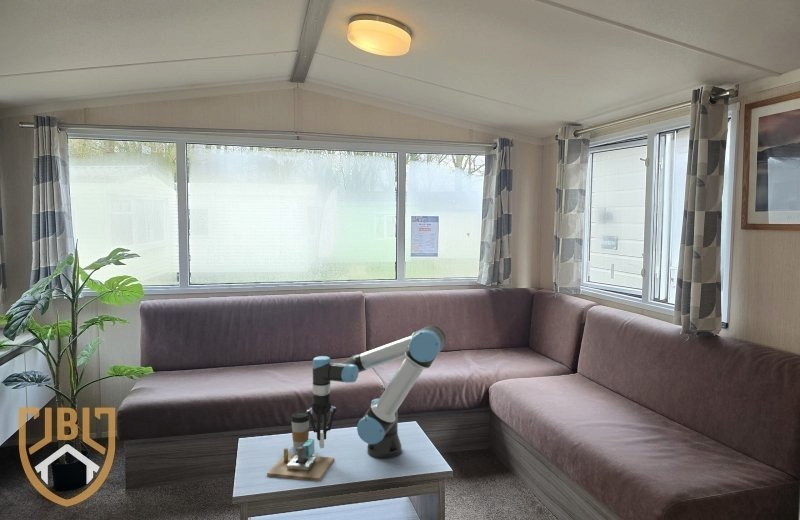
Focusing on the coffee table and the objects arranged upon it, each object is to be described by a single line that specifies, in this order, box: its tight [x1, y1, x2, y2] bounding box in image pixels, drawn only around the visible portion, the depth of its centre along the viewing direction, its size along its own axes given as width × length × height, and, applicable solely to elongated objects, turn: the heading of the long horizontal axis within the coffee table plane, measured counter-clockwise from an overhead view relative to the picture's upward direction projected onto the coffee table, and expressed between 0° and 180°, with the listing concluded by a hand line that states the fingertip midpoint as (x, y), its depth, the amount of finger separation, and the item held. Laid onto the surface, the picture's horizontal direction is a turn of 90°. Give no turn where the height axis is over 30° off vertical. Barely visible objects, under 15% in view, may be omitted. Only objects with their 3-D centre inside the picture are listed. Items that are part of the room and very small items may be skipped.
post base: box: [266, 446, 335, 482], centre depth 208 cm, size 22×18×8 cm
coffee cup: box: [290, 411, 310, 451], centre depth 228 cm, size 8×8×15 cm
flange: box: [287, 438, 316, 470], centre depth 211 cm, size 9×16×6 cm, turn 169°
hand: (321, 446), depth 218 cm, fingers closed
